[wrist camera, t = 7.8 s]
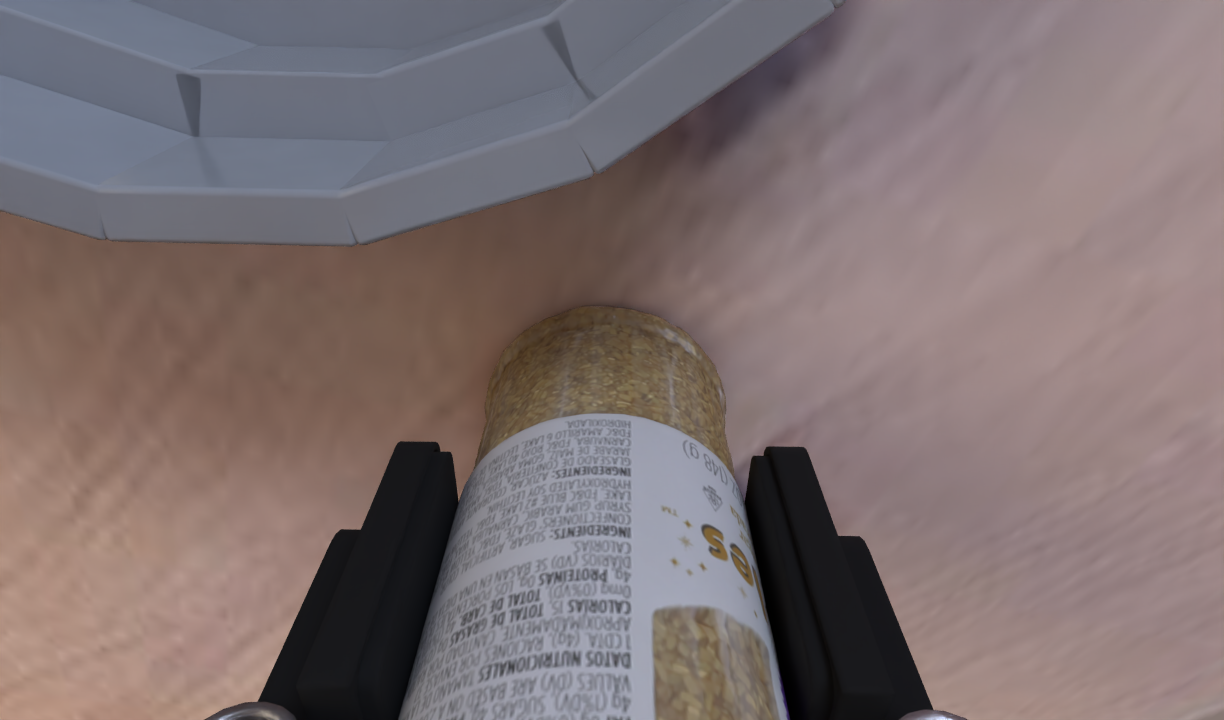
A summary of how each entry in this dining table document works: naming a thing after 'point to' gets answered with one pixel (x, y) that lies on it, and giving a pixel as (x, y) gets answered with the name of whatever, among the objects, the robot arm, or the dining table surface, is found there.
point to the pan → (345, 106)
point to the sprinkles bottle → (600, 542)
